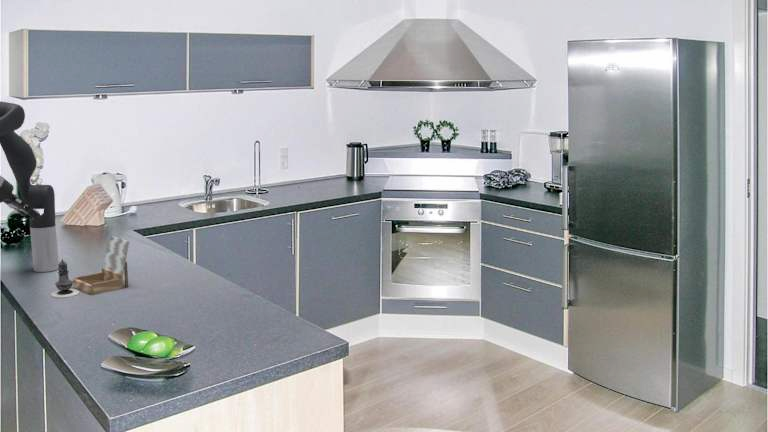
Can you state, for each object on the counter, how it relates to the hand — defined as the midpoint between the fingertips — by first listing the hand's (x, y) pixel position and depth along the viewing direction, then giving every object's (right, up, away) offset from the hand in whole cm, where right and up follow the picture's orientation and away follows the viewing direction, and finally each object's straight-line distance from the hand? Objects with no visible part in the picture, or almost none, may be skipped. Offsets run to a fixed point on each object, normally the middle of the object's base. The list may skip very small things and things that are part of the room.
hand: (32, 216), depth 277 cm
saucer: (+7, -27, +9) cm, 30 cm away
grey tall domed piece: (+7, -27, +9) cm, 29 cm away
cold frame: (+17, -25, +19) cm, 36 cm away
